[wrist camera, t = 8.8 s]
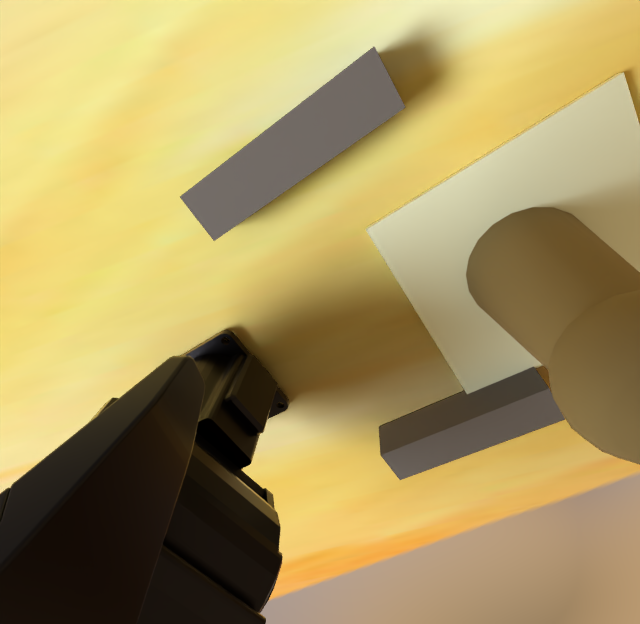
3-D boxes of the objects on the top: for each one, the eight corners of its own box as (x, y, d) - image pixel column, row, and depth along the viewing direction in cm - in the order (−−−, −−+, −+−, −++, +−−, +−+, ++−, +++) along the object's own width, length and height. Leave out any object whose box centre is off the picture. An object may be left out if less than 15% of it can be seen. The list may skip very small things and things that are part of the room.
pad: (466, 392, 24) (468, 396, 24) (365, 227, 20) (365, 229, 20) (688, 299, 20) (694, 302, 20) (617, 73, 16) (623, 72, 16)
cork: (441, 265, 20) (521, 410, 10) (549, 178, 18) (785, 255, 8) (510, 340, 22) (637, 528, 12) (618, 269, 19) (885, 427, 10)
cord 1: (396, 450, 26) (400, 480, 24) (378, 426, 26) (380, 455, 24) (546, 391, 23) (564, 419, 21) (531, 362, 23) (549, 388, 20)
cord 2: (229, 227, 21) (213, 240, 18) (198, 188, 20) (179, 196, 18) (399, 108, 17) (405, 107, 15) (372, 55, 17) (374, 46, 14)
